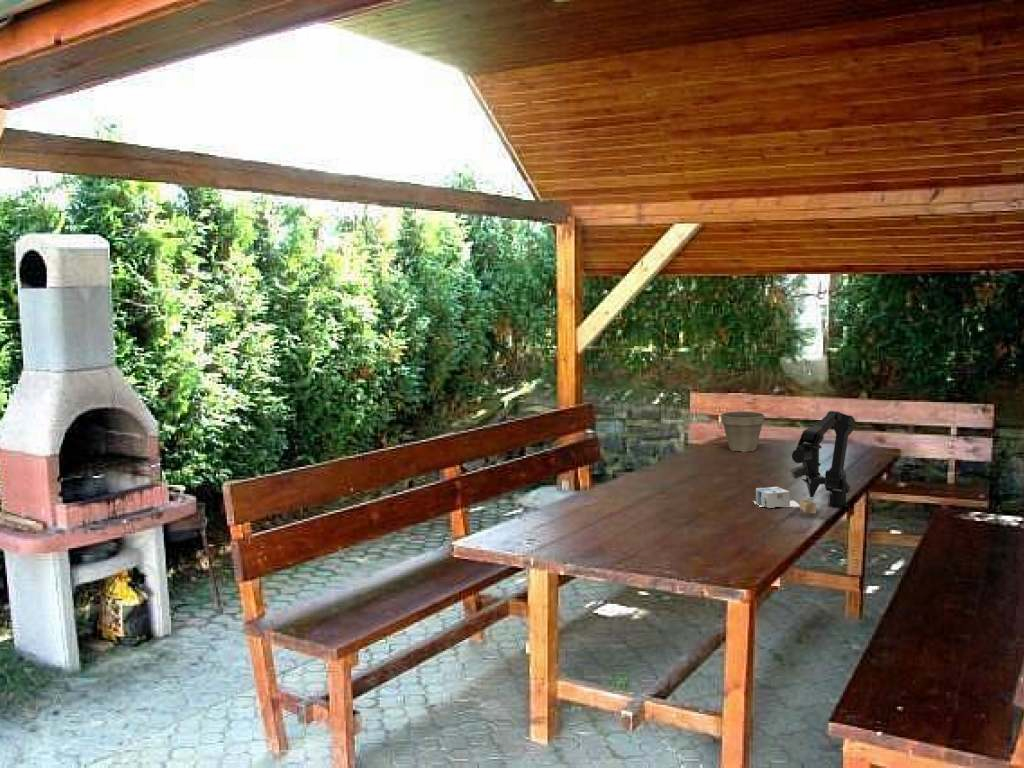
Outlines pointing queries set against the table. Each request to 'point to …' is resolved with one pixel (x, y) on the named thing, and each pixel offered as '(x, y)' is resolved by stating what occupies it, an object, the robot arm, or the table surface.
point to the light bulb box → (772, 497)
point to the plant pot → (742, 429)
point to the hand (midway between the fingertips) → (811, 497)
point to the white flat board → (792, 504)
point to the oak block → (807, 506)
